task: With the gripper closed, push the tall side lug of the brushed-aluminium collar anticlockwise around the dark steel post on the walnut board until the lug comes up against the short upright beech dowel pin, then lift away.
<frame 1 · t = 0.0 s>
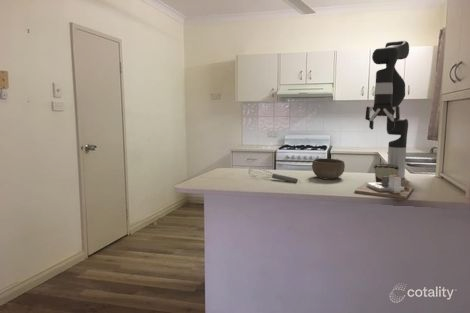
hand: (381, 129, 163), 29 cm above the countertop, tool pointing down, fingers open, 8 cm apart
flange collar: (387, 181, 166), point 5 cm above the countertop, hinge at 0.0°
bowl: (327, 178, 204), on the countertop
post board: (384, 191, 169), on the countertop
food container: (386, 183, 188), on the countertop
kitchen whisk: (272, 180, 199), on the countertop
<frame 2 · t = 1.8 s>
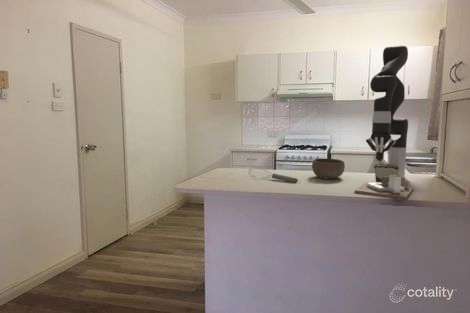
hand: (379, 160, 161), 16 cm above the countertop, tool pointing down, fingers closed
nothing on the countertop moved.
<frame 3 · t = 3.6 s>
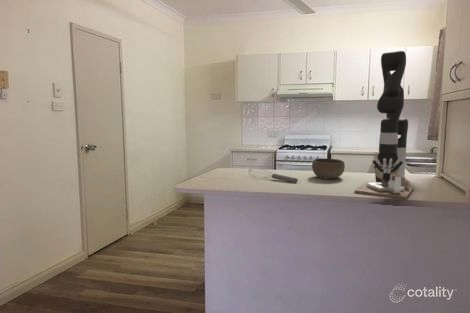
hand: (386, 181, 161), 6 cm above the countertop, tool pointing down, fingers closed
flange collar: (387, 181, 166), point 5 cm above the countertop, hinge at 0.2°, touching gripper
everything else where it was.
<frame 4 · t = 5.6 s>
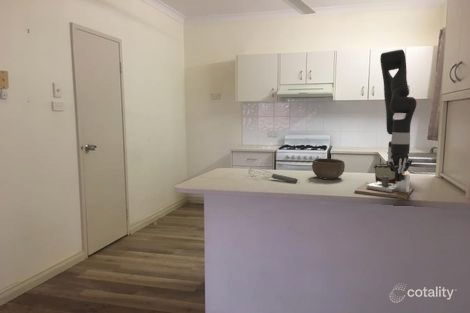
hand: (398, 181, 161), 6 cm above the countertop, tool pointing down, fingers closed
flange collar: (389, 180, 167), point 5 cm above the countertop, hinge at 35.9°, touching gripper
everything else where it was.
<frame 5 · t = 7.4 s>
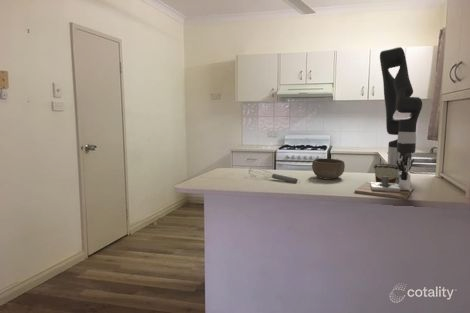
hand: (404, 180, 163), 7 cm above the countertop, tool pointing down, fingers closed
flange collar: (390, 180, 168), point 5 cm above the countertop, hinge at 66.1°, touching gripper, post board
everything else where it was.
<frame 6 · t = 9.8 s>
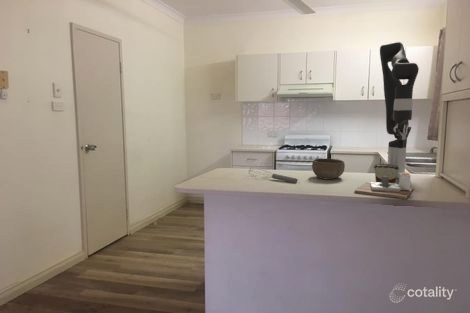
hand: (400, 148, 161), 21 cm above the countertop, tool pointing down, fingers closed
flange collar: (390, 180, 168), point 5 cm above the countertop, hinge at 66.1°, touching post board
everything else where it was.
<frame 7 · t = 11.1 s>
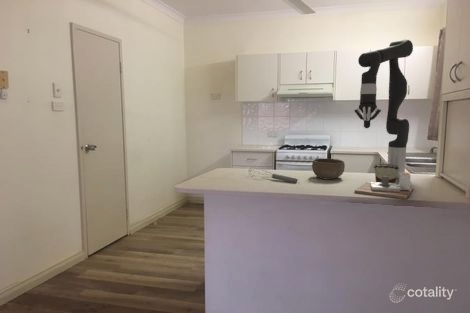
hand: (366, 128, 181), 29 cm above the countertop, tool pointing down, fingers closed
nothing on the countertop moved.
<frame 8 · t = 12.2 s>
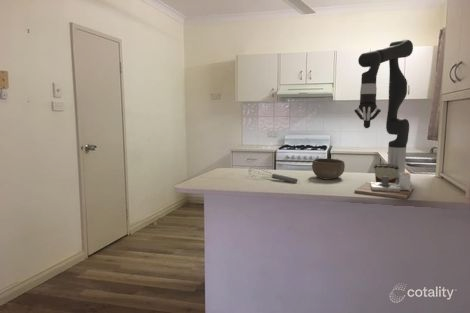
hand: (366, 128, 181), 29 cm above the countertop, tool pointing down, fingers closed
nothing on the countertop moved.
at the end: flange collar at +66° (first picture: +0°); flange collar 0.0 cm from the post board (horizontally) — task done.
